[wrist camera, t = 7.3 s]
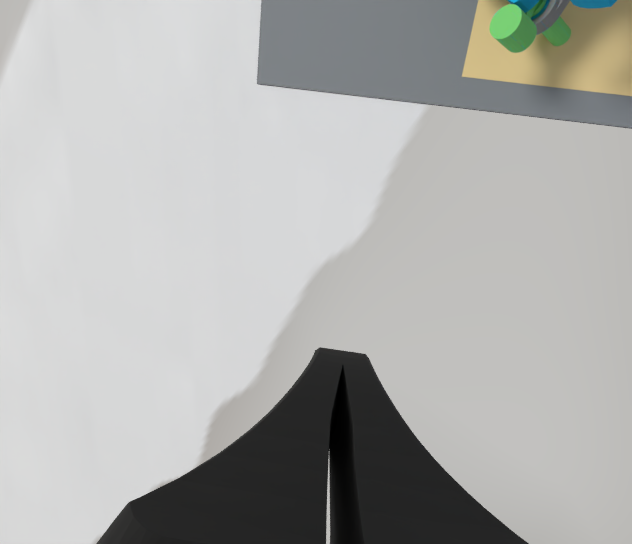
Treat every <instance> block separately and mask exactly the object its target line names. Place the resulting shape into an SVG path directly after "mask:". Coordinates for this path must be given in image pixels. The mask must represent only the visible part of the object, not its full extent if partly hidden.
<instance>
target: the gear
mask: <svg viewBox="0 0 632 544" xmlns="http://www.w3.org/2000/svg"><path fill="white" fill-rule="evenodd" d="M507 1H508V2H509V3H510V4H509V5H506V6H504V7H502V8H501V9H499V10H498V11H497V12H496V13H495V15H494V16H493V18H492V20H491V23H490V28H489V29H490V33H491V35H492V36H493V37H494V38H495V39H496V40H497V41H498V42H499V43H501V44H502V45H503V46H504V47H505V48H506V49H508V50H509V51H510V52H513V53H519V52H522V51H524V50H526V49H527V48H528V47H529V46H530V45H531V44H532V43H533V41H534V39H535V37H536V35H538V34H540V33H542V34H543V35H544V36H545V37H546V38H547V39H548V41H549V42H550V43H551V44H552V45H554V46H561V45H563V44H564V43H566V42H567V41H568V40H569V38H570V36H571V29H570V28H569V27H568V25H567V24H566V23H565V22H564V20H563V19H562V18H561V17H560V15H561V13H562V12H563V11H564V9H565V8H566V6H567V5H568V3H569V2H570V1H571V2H572V3H573V5H575V6H578V7H580V8H587V9H591V8H605V7H611V6H612V5H613V4H614V3H615V2H616V1H617V0H507Z"/></svg>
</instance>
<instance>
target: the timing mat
mask: <svg viewBox="0 0 632 544" xmlns="http://www.w3.org/2000/svg"><path fill="white" fill-rule="evenodd" d="M509 4H510V3H509V2H508V1H507V0H262V3H261V21H260V39H259V57H258V75H257V84H264V85H272V86H281V87H289V88H298V89H306V90H315V91H323V92H331V93H340V94H348V95H357V96H365V97H374V98H382V99H390V100H399V101H407V102H416V103H424V104H428V105H437V106H445V107H454V108H463V109H470V110H479V111H487V112H495V113H504V114H512V115H521V116H529V117H538V118H546V119H555V120H563V121H571V122H580V123H588V124H596V125H605V126H614V127H622V128H631V129H632V0H617V1H616V2H615V3H614V4H613V5H612V6H611V7H605V8H591V9H587V8H580V7H578V6H575V5H573V3H572V2H571V1H570V2H569V3H568V5H567V6H566V8H565V9H564V11H563V12H562V13H561V15H560V17H561V18H562V19H563V20H564V22H565V23H566V24H567V25H568V27H569V28H570V29H571V36H570V38H569V40H568V41H567V42H566V43H564V44H563V45H561V46H554V45H552V44H551V43H550V42H549V41H548V39H547V38H546V37H545V36H544V35H543V34H542V33H540V34H538V35H536V37H535V39H534V41H533V43H532V44H531V45H530V46H529V47H528V48H527V49H526V50H524V51H522V52H519V53H513V52H510V51H509V50H508V49H506V48H505V47H504V46H503V45H502V44H501V43H499V42H498V41H497V40H496V39H495V38H494V37H493V36H492V35H491V33H490V29H489V28H490V23H491V20H492V18H493V16H494V15H495V13H496V12H497V11H498V10H499V9H501V8H502V7H504V6H506V5H509Z"/></svg>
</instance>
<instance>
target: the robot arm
mask: <svg viewBox="0 0 632 544" xmlns="http://www.w3.org/2000/svg"><path fill="white" fill-rule="evenodd" d="M329 451H330V452H329ZM328 455H329V456H330V544H528V543H527V542H526V541H524V540H523V539H522V538H520V537H519V536H518V535H516V534H515V533H514V532H513V531H511V530H510V529H509V528H508V527H507V526H505V525H504V524H503V523H502V522H501V521H499V520H498V519H497V518H496V517H494V516H493V515H492V514H491V513H490V512H489V511H487V510H486V509H485V508H484V507H483V506H482V505H481V504H479V503H478V502H477V501H476V500H475V499H474V498H473V497H472V496H471V495H470V494H468V493H467V492H466V491H465V490H464V489H463V488H462V487H461V486H460V485H459V484H458V483H457V482H456V481H455V480H454V479H453V478H452V477H451V476H450V475H449V474H448V473H447V472H446V471H445V470H444V469H443V468H442V467H441V466H440V465H439V463H438V462H437V461H436V460H435V459H434V458H433V457H432V456H431V454H430V453H429V452H428V451H427V450H426V449H425V447H424V446H423V445H422V444H421V443H420V441H419V440H418V439H417V438H416V436H415V435H414V434H413V433H412V431H411V430H410V428H409V427H408V425H407V424H406V423H405V421H404V420H403V418H402V417H401V415H400V414H399V412H398V411H397V409H396V408H395V406H394V404H393V403H392V401H391V400H390V398H389V396H388V395H387V393H386V391H385V390H384V388H383V386H382V384H381V382H380V381H379V379H378V377H377V375H376V373H375V371H374V369H373V367H372V365H371V362H370V360H369V358H368V357H367V355H366V354H361V353H354V352H347V351H340V350H333V349H327V348H319V349H317V350H315V353H314V355H313V357H312V359H311V361H310V363H309V365H308V366H307V367H306V369H305V370H304V372H303V373H302V375H301V376H300V377H299V378H298V380H297V381H296V382H295V384H294V385H293V386H292V388H291V389H290V390H289V391H288V393H286V394H285V396H284V397H283V398H282V399H281V400H280V401H279V402H278V403H277V404H276V405H275V407H274V408H273V409H272V410H271V411H270V412H269V413H268V414H267V415H266V416H264V417H263V418H262V419H261V420H260V421H259V422H258V423H257V424H256V425H255V426H253V427H252V428H251V429H250V430H249V431H248V432H246V433H245V434H244V435H243V436H241V437H240V438H239V439H237V440H236V441H235V442H234V443H232V444H231V445H230V446H228V447H227V448H226V449H224V450H223V451H221V452H220V453H218V454H217V455H216V456H214V457H212V458H211V459H209V460H208V461H206V462H204V463H203V464H201V465H199V466H198V467H196V468H195V469H193V470H191V471H190V472H188V473H187V474H185V475H183V476H181V477H180V478H178V479H176V480H174V481H172V482H170V483H168V484H166V485H164V486H162V487H160V488H158V489H156V490H154V491H152V492H150V493H148V494H146V495H144V496H142V497H140V498H137V499H135V500H133V501H131V502H129V503H128V504H127V505H126V506H125V508H124V509H123V510H122V511H121V513H120V514H119V515H118V516H117V518H116V519H115V520H114V521H113V523H112V524H111V525H110V527H109V528H108V529H107V531H106V532H105V533H104V535H103V536H102V537H101V538H100V540H99V541H98V542H97V544H326V509H327V479H328V457H329V456H328Z"/></svg>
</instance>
